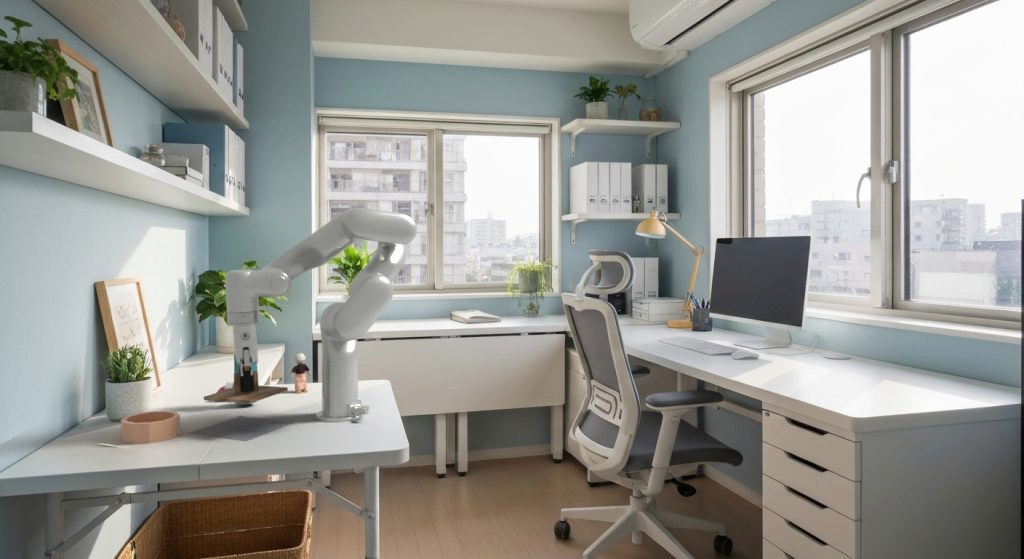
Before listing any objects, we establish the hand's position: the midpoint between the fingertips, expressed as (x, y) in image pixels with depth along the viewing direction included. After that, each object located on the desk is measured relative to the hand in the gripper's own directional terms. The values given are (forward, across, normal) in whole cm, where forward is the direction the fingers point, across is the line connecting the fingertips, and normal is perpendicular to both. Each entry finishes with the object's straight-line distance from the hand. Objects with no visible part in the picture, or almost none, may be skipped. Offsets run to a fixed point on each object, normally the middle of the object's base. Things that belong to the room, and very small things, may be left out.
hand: (246, 388), depth 163 cm
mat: (+10, 0, +1) cm, 10 cm away
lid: (+2, 0, 0) cm, 2 cm away
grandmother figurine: (+12, +39, -18) cm, 44 cm away
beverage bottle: (+11, +25, -1) cm, 27 cm away
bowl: (+10, +1, +22) cm, 24 cm away
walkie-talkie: (+11, +42, +2) cm, 44 cm away
